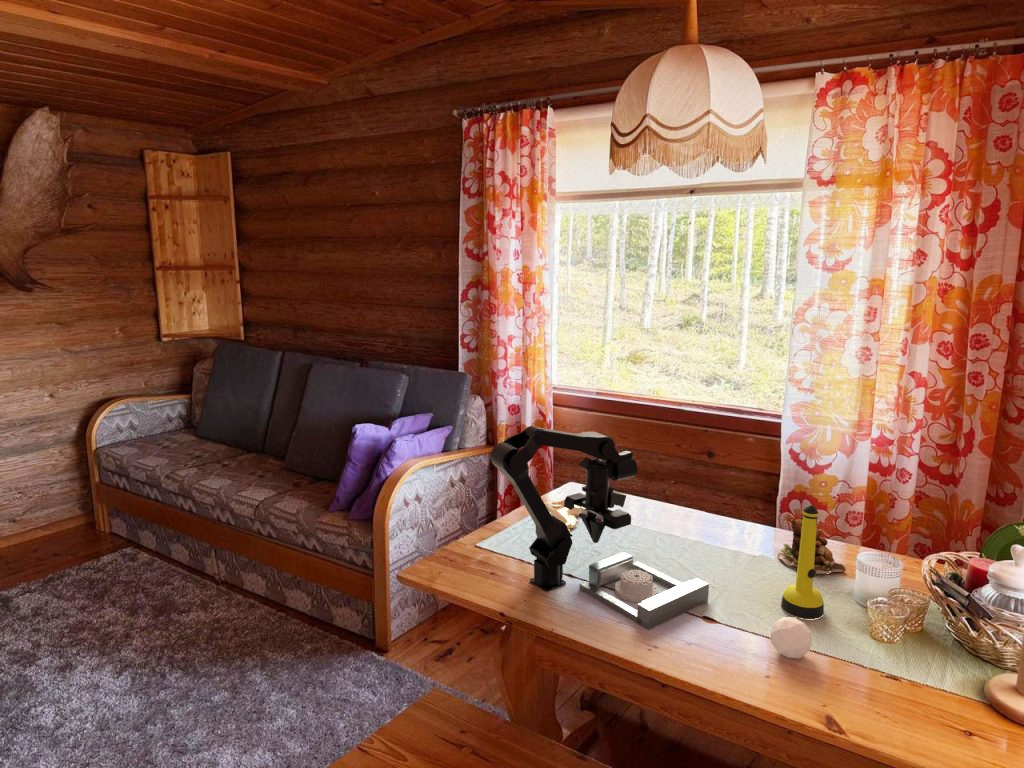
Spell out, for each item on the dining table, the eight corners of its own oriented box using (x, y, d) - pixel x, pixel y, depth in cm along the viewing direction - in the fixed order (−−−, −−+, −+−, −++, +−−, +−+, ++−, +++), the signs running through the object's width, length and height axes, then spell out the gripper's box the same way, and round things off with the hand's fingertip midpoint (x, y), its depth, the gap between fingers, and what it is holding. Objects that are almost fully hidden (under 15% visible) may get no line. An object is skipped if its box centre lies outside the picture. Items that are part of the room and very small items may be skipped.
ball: (777, 662, 138) (762, 622, 141) (817, 652, 136) (800, 611, 139) (780, 664, 131) (764, 622, 134) (822, 653, 129) (804, 611, 133)
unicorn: (570, 490, 217) (612, 509, 205) (569, 502, 218) (611, 521, 206) (526, 505, 204) (567, 526, 192) (525, 518, 205) (566, 539, 193)
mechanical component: (659, 604, 155) (655, 583, 165) (660, 587, 154) (655, 567, 164) (616, 602, 156) (614, 582, 166) (616, 585, 155) (614, 565, 165)
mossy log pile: (813, 582, 166) (817, 535, 164) (768, 557, 180) (771, 513, 177) (853, 571, 171) (858, 526, 169) (807, 548, 185) (810, 506, 182)
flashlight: (780, 501, 150) (812, 515, 142) (810, 495, 154) (843, 509, 145) (772, 604, 155) (802, 624, 147) (801, 596, 158) (832, 615, 150)
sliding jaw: (599, 588, 162) (599, 570, 161) (588, 582, 165) (589, 564, 164) (634, 574, 169) (634, 556, 168) (623, 568, 172) (624, 551, 171)
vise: (648, 629, 145) (649, 610, 144) (579, 589, 162) (579, 572, 161) (707, 601, 156) (709, 583, 155) (637, 566, 174) (638, 550, 173)
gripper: (648, 487, 165) (645, 547, 168) (595, 467, 179) (593, 523, 182) (615, 496, 158) (613, 558, 161) (563, 475, 173) (562, 533, 176)
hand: (595, 542), depth 170 cm, fingers closed
